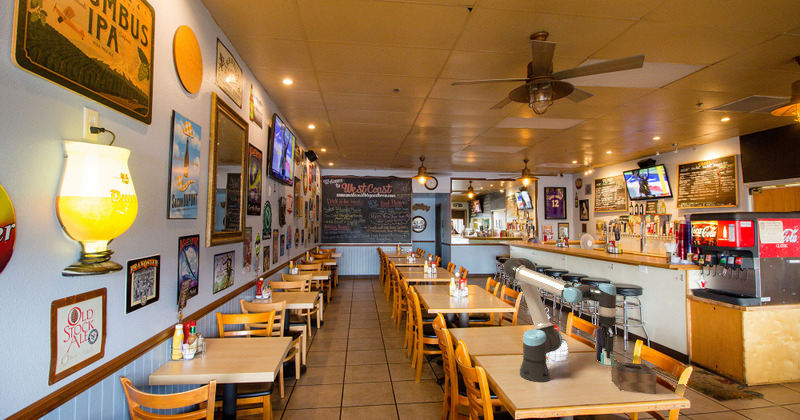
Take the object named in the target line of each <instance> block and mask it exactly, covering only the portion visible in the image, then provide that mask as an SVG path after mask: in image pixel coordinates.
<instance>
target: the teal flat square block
mask: <svg viewBox="0 0 800 420" xmlns="http://www.w3.org/2000/svg"><path fill="white" fill-rule="evenodd" d="M614 356H615V355H614V354H613V355H612V354H611V365H606V364H604V353H601V362H600V364H601V365H602V366H610V367H611V366H614V362H615V361H614V360H615V359H614Z"/></svg>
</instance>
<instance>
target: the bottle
mask: <svg viewBox="0 0 800 420" xmlns="http://www.w3.org/2000/svg"><path fill="white" fill-rule="evenodd" d="M595 339H596V340H595V341H596V342H595V355H596V356H595V359H597V360H598V361H597V360H596V361H597V362H599V361H600V362H599V363H601V353H602V349H603V348H602V346H601V329H600V326H599V327H597V328H596V329H595ZM611 354H612V355H613V356H614V351H613V352H611Z"/></svg>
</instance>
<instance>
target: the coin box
mask: <svg viewBox="0 0 800 420" xmlns="http://www.w3.org/2000/svg"><path fill="white" fill-rule="evenodd" d="M610 367H611V368H610V370H611V372H610V373H611V375H610V377H611V382H612V384H614V386H615V387H616V388H617V387H618V388H617V389H618V390H619V391H621V390H624V391H623V392H631V391H634V392H633V393H640V392H643V394H650V393H653V394H652V395H657V372H655V371H654V370H653V369H652V368H650V367H649V366H648V365H647V364H645V363H636V362H635V363H633V362H626V361H625V362H624V361H614V366H610Z"/></svg>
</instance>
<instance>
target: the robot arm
mask: <svg viewBox="0 0 800 420" xmlns="http://www.w3.org/2000/svg"><path fill="white" fill-rule="evenodd" d="M503 272H504V274H505V276H506V277H507V278H509V279H512V280H514V281H515V282H516V283H517V284H518V285H520V289H521V291H522V295H523V297H524V300H525V303H526V305H527V308H528V312H529V315H530V317H531V320H532V323H533V328H532V329H527V330H525V331H524V332H523V336H522V362H521V364H520V368H519V376H520V377H521V378H523V379H525V380H527V381H532V382H538V383H542V382H543V383H544V382H548V381H549V380H550V378H551V377H550V370H549V368H548V365H547V354H548V353H552V352H555V351H557V350H559V349H560V348H561V346H562V344H563V337H562V334H561V332H560V331H559V330H557V329H556V328H555V325H554V324H553V323H552V322H551V321H550V320H549V316H548V314H547V312H546V309H545V306H544V303H543V301H542V298H541V295H540V292H539V289H541V290H543V291H546V292H547V293H551V294H553V295H555V296H558V297H561V298H563V299H564V301H566V302H567V303H569V304H577V303H578V304H579V303H581V302H585V301H592V302H598V313H597V314H598V323H600V325H599V327H600V329H601V346H602V348H603V349H602V353H604V364H606V365H605V366H608V365H611V352H613V353H614V339H615V338H614V337H615V332H614V329H613V326H615V325H616V323H617V317H616V316H617V312H618V309H617V286H616V285H615V284H612V283H605V282H604V283H603V282H602V283H599V285H598V286H594V285H590V284H589V285H588V284H585V283H582V284H581V283H577V284H575V285H571V284H570V283H567V282H564V281H561V280H559V279H557V278H553V277H551V276H549V275H546V274H543V273H540V272H538V271H537V266H536V264H535V262H534V261H533V260H532V259H530V258H528V257H519V258H518V257H517V258H514V257H513V258H508V259H507V260H506V261H505V262H504V263H503Z"/></svg>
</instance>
